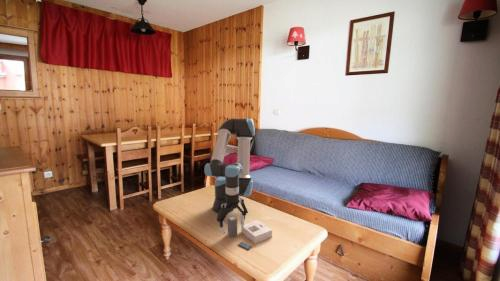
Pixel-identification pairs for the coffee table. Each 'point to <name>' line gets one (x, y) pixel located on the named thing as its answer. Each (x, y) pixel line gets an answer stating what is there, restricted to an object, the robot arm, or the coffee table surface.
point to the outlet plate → (256, 231)
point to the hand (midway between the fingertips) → (232, 228)
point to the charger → (232, 227)
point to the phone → (244, 245)
